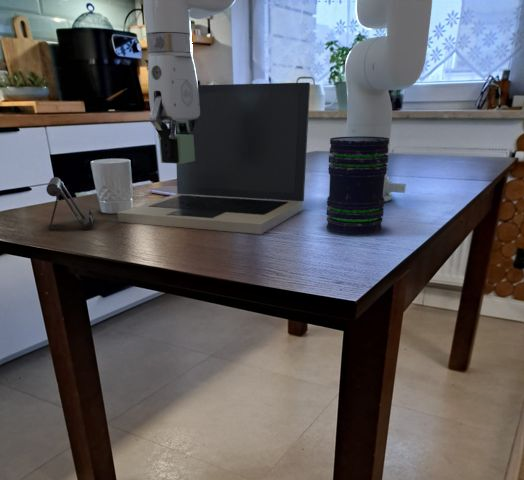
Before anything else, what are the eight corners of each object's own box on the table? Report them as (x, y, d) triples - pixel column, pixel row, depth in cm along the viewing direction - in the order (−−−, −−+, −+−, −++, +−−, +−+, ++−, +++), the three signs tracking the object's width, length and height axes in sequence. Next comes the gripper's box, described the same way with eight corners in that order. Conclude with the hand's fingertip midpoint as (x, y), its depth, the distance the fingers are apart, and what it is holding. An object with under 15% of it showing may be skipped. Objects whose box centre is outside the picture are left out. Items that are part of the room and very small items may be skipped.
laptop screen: (308, 82, 99) (310, 83, 100) (173, 85, 109) (176, 86, 110) (302, 201, 106) (303, 201, 107) (177, 193, 117) (179, 193, 118)
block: (195, 161, 97) (193, 134, 95) (182, 163, 93) (180, 136, 91) (174, 160, 99) (172, 134, 97) (160, 162, 95) (158, 135, 93)
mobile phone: (170, 184, 133) (211, 190, 125) (170, 188, 134) (211, 194, 125) (147, 188, 128) (188, 194, 120) (147, 192, 129) (188, 199, 120)
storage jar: (319, 233, 89) (322, 140, 82) (332, 221, 97) (336, 136, 91) (377, 237, 86) (385, 141, 79) (385, 224, 94) (394, 136, 88)
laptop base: (261, 234, 89) (261, 223, 88) (118, 221, 100) (117, 211, 99) (302, 210, 107) (302, 200, 106) (177, 201, 118) (176, 193, 117)
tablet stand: (93, 229, 94) (86, 182, 90) (47, 233, 92) (38, 184, 88) (93, 219, 102) (86, 175, 98) (51, 223, 100) (42, 177, 96)
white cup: (95, 209, 111) (88, 160, 107) (132, 205, 114) (126, 157, 110) (100, 215, 105) (92, 164, 100) (139, 212, 108) (133, 161, 103)
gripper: (161, 42, 80) (171, 167, 88) (212, 50, 94) (217, 157, 102) (121, 44, 82) (134, 165, 90) (176, 52, 96) (184, 156, 104)
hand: (178, 159), depth 96 cm, fingers closed on block, 4 cm apart
